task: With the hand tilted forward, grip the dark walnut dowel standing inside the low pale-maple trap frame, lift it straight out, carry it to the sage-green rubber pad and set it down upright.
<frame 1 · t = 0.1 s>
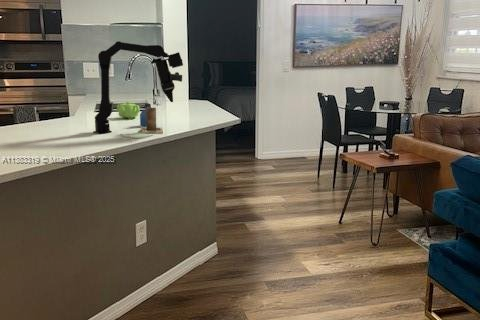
hand: (171, 101, 230), 15 cm above the countertop, tool pointing down, fingers open, 9 cm apart
trap frame: (151, 131, 231), on the countertop
green cabbage: (128, 118, 274), on the countertop
walnut dowel: (151, 120, 230), in the trap frame
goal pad: (137, 136, 219), on the countertop
perfume bottle: (148, 126, 249), on the countertop
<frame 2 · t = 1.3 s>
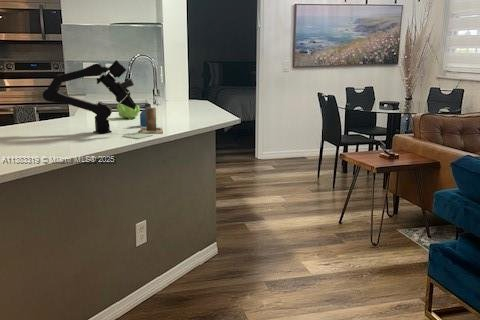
hand: (135, 107, 227), 12 cm above the countertop, tool tilted 45°, fingers open, 9 cm apart
nothing on the countertop moved.
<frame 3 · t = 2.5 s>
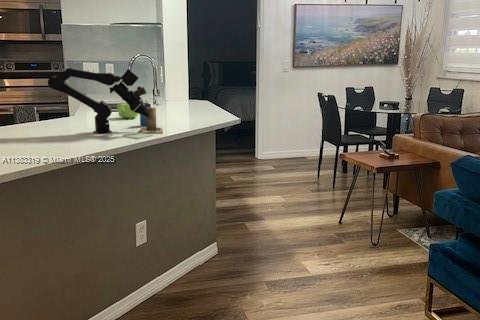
hand: (148, 115, 229), 9 cm above the countertop, tool tilted 45°, fingers open, 9 cm apart
nothing on the countertop moved.
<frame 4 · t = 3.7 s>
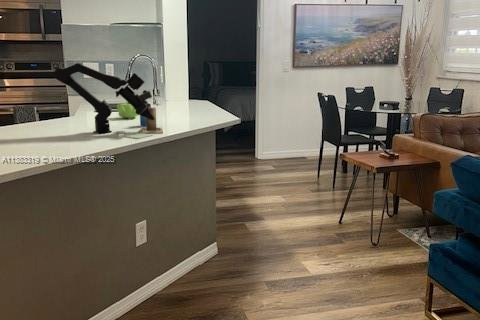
hand: (153, 118, 230), 7 cm above the countertop, tool tilted 45°, fingers closed on walnut dowel, 5 cm apart
walnut dowel: (151, 119, 230), in the trap frame, touching gripper
everything else where it was.
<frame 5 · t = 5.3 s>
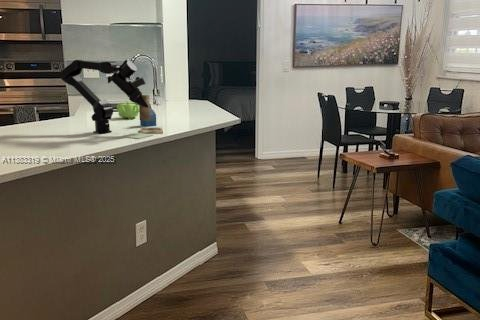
hand: (147, 106, 223), 14 cm above the countertop, tool tilted 45°, fingers closed on walnut dowel, 5 cm apart
walnut dowel: (144, 107, 223), point 13 cm above the countertop, touching gripper
everything else where it was.
when the fingers open (8 cm above the countertop, at t = 7.1 s): walnut dowel stays where it is, resting on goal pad.
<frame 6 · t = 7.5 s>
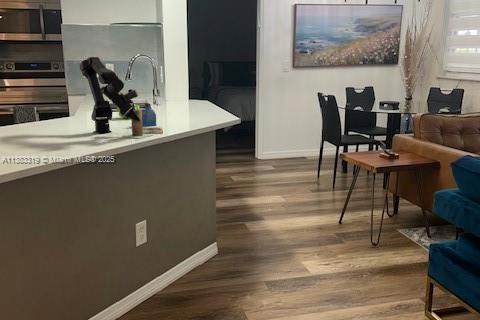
hand: (140, 119, 217), 8 cm above the countertop, tool tilted 45°, fingers open, 9 cm apart
walnut dowel: (136, 122, 217), on the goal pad
everything else where it was.
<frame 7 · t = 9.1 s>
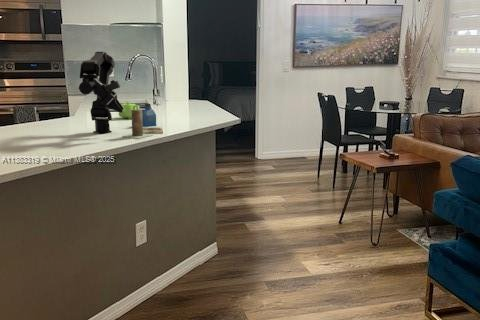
hand: (122, 110, 214), 12 cm above the countertop, tool tilted 45°, fingers open, 9 cm apart
nothing on the countertop moved.
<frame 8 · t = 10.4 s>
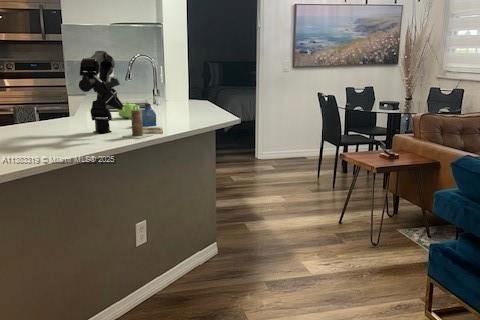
hand: (122, 108, 214), 14 cm above the countertop, tool tilted 45°, fingers open, 9 cm apart
nothing on the countertop moved.
at the end: walnut dowel inside the target area on the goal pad (0.1 cm from its centre), point 6.5 cm above the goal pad's base; walnut dowel tilted 1°; walnut dowel touching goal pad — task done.
